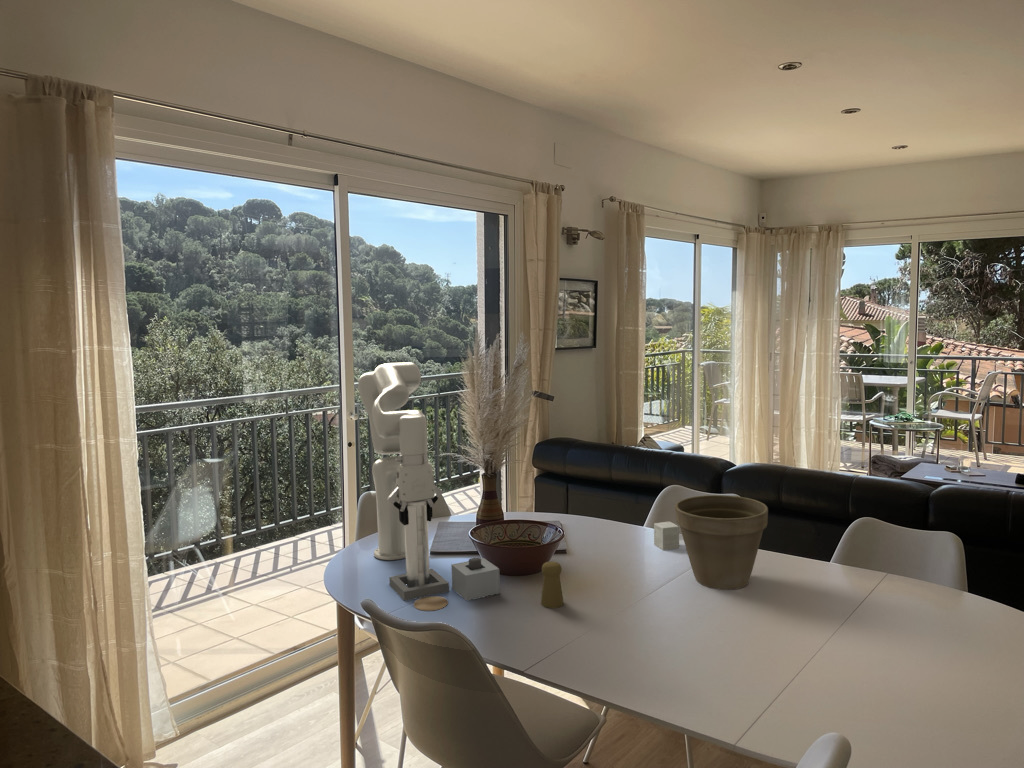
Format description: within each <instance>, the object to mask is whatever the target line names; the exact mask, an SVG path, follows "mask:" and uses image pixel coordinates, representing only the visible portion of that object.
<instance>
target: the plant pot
mask: <svg viewBox="0 0 1024 768" xmlns="http://www.w3.org/2000/svg"><path fill="white" fill-rule="evenodd" d="M674 510H675V511H674V513H675V522H676V525H677V526H679V529H680V532H681V535H682V539H683V542H684V545H685V550H686V553H687V557H688V559H689V562H690V566H691V570H692V573H693V576H694V579H695V581H697V583H698V584H700V585H702V586H704V587H707V588H710V589H717V590H736V589H741V588H743V587H745V586H747V585H748V584H749V583H750V579H751V576H752V572H753V569H754V565H755V561H756V558H757V555H758V551H759V547H760V543H761V539H762V536H763V532H764V530H765V529H766V528H768V527H767V526H768V522H769V521H768V518H769V507H768V506H767V504H765V503H764V502H761V501H760V500H756V499H753V498H750V497H743V496H739V495H738V496H737V495H736V496H735V495H724V494H722V495H721V494H716V495H715V494H711V495H709V494H707V495H697V496H689V497H686V498H683V499H680V500H679V501H677V502H676V503H675V505H674Z"/></svg>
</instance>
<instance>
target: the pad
mask: <svg viewBox="0 0 1024 768" xmlns="http://www.w3.org/2000/svg"><path fill="white" fill-rule="evenodd" d="M448 604H449V601H448V599H447V598H446V597H443V596H438V595H436V596H435V595H430V596H425V597H421V598H417V599H415V601H414V603H413V606H414V608H415V609H416V610H419V611H426V612H428V611H429V612H430V611H432V612H433V611H438V610H441V609H444V608H445V607H446V605H448ZM443 607H444V608H443Z"/></svg>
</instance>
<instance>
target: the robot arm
mask: <svg viewBox="0 0 1024 768" xmlns="http://www.w3.org/2000/svg"><path fill="white" fill-rule="evenodd" d="M421 381H422V375H421V370H420V368H419V367H418V365H417V364H416V363H414V362H411V361H409V362H407V361H406V362H405V361H404V362H403V361H401V362H387V363H383V364H379V365H378V366H377V367H376V368H375V369H374V371H369V372H365V373H362V375H361V376H360V377H359V378H358V381H357V382H358V383H357V387H358V393H359V397H360V400H361V402H362V405H363V407H364V408H365V411H366V414H367V417H368V420H369V427H370V428H369V429H370V435H371V439H372V440H371V441H372V446H373V449H374V451H375V453H377V454H378V455H383V456H384V455H385V456H386V455H395V456H386V457H385V456H384V457H381V458H379V459H377V460H375V461H374V462H373V464H372V468H371V470H372V471H371V473H372V478H373V484H374V489H375V490H374V491H375V498H376V499H375V501H376V520H377V521H376V523H377V540H378V541H377V542H378V545H377V546H378V547H377V548H376V549H374V551H373V556H374V557H375V558H376V559H378V560H383V561H396V560H403V559H406V553H405V526H404V525H407V512H406V511H405V507H406V505H407V502H413V501H420V500H426V502H427V511H428V522H432V518H433V507H434V506H435V503H436V502H437V501H438V499H439V498H440V497H441V495H442V494H443V490H441V489H440V488H439V487H438V486H437V485H435V480H434V479H435V477H434V472H433V466H432V464H431V462H429V460H428V458H429V457H428V456H429V455H428V428H427V427H428V426H427V425H428V424H427V418H426V415H425V414H424V413H423V411H421V410H420V409H407V410H406V409H405V410H399V409H401V408H402V407H403V406H405V405H406V404H407V403H408V401H409V398H410V395H411V394H413V393H414V392H415V391H417V389H418V388H419V387H420V385H421ZM397 454H399V455H397ZM396 455H397V456H396Z"/></svg>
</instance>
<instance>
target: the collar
mask: <svg viewBox="0 0 1024 768" xmlns="http://www.w3.org/2000/svg"><path fill="white" fill-rule="evenodd" d="M429 573H430V584H426V585H421V586H417V587H412V588H408V587H407V585H406V584H407V581H406V573H402V574H396V575H391V576H389V579H388V581H389V586H390V587H391V588H392V590H393V591H394V592H397V593H396V594H397V595H398V596H399V597H400V598H401V599H402V600H403V601H405V602H407V601H411V600H416V599H420V597H421V598H423V597H428V596H435V595H440V594H444V593H449V592H450V582H449V581H448V580H447V579H445V578H444V577H443V576H442V575H441V574H439V573H438V572H437V571H436V570H435V569H434V568H429ZM415 598H416V599H415Z"/></svg>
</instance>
